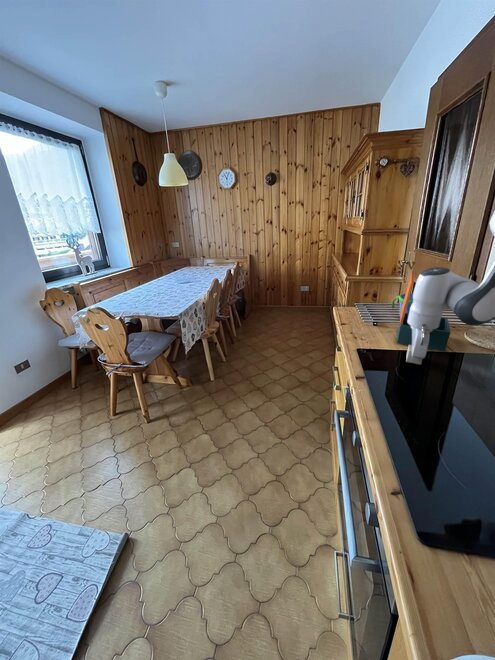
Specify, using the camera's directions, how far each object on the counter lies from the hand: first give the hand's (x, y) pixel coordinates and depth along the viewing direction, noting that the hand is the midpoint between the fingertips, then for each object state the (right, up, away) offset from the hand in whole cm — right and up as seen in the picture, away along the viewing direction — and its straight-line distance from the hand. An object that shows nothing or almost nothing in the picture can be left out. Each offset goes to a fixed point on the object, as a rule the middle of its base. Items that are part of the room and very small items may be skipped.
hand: (414, 355), depth 96 cm
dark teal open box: (+9, +5, +12) cm, 16 cm away
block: (0, -1, +1) cm, 2 cm away
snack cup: (+14, +14, +29) cm, 35 cm away
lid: (+2, +21, +8) cm, 22 cm away
